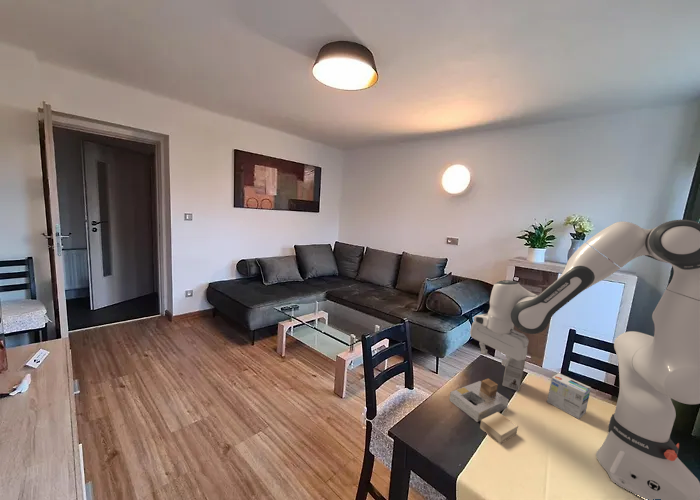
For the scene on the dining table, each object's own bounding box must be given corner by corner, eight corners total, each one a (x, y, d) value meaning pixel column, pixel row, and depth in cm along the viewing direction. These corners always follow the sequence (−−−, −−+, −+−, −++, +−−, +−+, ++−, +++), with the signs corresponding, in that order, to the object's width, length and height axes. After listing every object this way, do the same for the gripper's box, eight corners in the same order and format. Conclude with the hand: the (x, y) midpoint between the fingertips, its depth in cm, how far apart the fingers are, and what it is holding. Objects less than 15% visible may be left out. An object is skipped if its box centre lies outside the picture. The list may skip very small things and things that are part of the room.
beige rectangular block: (516, 434, 94) (518, 426, 93) (499, 443, 89) (501, 435, 89) (496, 419, 100) (497, 411, 99) (479, 427, 95) (481, 419, 95)
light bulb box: (585, 413, 107) (592, 387, 105) (579, 420, 103) (585, 392, 101) (553, 396, 115) (558, 371, 114) (545, 402, 112) (551, 376, 110)
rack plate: (507, 408, 106) (508, 399, 106) (477, 422, 98) (479, 412, 97) (478, 388, 116) (479, 380, 116) (449, 400, 108) (450, 391, 107)
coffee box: (504, 375, 128) (510, 341, 125) (520, 381, 124) (527, 346, 122) (501, 385, 120) (508, 349, 117) (519, 392, 116) (526, 355, 114)
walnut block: (496, 394, 108) (497, 384, 108) (489, 396, 106) (491, 387, 105) (486, 387, 112) (488, 378, 111) (479, 390, 110) (481, 380, 109)
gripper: (534, 334, 97) (527, 372, 100) (480, 312, 115) (475, 345, 117) (524, 337, 94) (516, 376, 96) (470, 314, 112) (465, 348, 114)
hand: (493, 359), depth 107 cm, fingers open, 7 cm apart
